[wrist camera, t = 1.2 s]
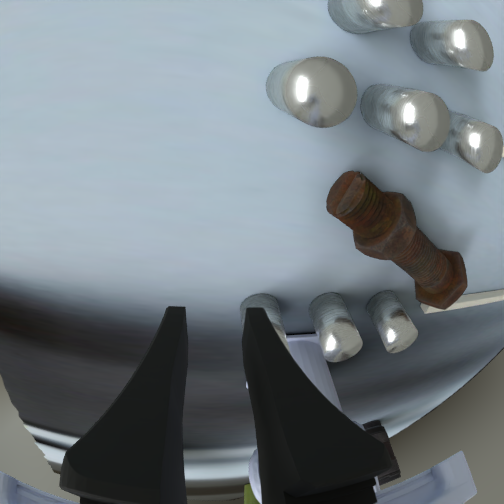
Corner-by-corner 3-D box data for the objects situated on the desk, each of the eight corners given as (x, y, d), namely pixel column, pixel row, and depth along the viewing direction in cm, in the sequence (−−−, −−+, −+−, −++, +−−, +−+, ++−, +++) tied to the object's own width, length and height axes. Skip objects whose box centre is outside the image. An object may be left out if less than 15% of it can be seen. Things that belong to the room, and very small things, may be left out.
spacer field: (387, 313, 27) (407, 350, 23) (238, 320, 24) (244, 369, 20) (470, 49, 12) (517, 57, 8) (280, -28, 10) (303, -60, 6)
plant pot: (263, 485, 83) (267, 509, 74) (234, 486, 79) (237, 511, 70) (276, 479, 77) (281, 506, 68) (245, 481, 74) (249, 509, 64)
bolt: (327, 161, 19) (428, 253, 25) (298, 223, 19) (411, 300, 25) (386, 148, 14) (476, 261, 19) (357, 228, 14) (459, 315, 19)
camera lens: (342, 437, 52) (358, 493, 39) (355, 424, 47) (374, 487, 35) (373, 429, 53) (391, 482, 40) (388, 415, 48) (409, 473, 36)
